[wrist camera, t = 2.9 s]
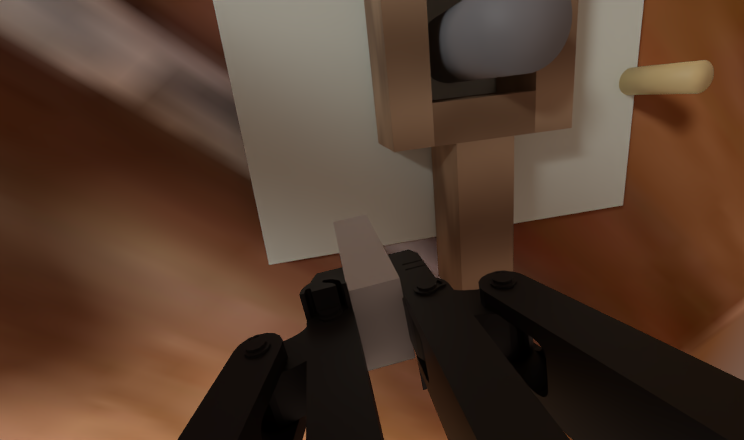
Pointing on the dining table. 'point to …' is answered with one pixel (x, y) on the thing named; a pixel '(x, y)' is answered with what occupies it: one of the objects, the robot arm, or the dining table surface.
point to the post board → (448, 80)
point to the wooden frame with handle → (462, 135)
